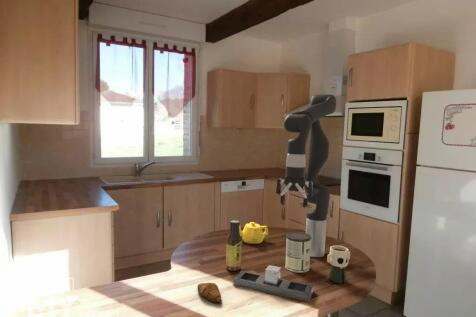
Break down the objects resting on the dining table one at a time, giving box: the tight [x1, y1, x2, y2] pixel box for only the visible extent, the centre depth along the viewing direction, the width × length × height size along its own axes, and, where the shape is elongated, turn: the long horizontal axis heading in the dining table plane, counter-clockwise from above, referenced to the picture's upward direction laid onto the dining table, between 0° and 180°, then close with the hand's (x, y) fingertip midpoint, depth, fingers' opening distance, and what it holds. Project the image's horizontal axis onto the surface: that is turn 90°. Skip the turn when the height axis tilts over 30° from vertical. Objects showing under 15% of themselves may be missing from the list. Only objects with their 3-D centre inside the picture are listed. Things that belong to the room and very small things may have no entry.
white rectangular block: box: [264, 264, 282, 287], centre depth 122 cm, size 4×4×7 cm
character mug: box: [326, 245, 351, 284], centre depth 130 cm, size 11×7×13 cm, turn 113°
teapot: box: [239, 221, 269, 245], centre depth 174 cm, size 14×13×10 cm
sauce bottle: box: [225, 219, 243, 272], centre depth 138 cm, size 7×6×20 cm
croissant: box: [197, 282, 223, 305], centre depth 115 cm, size 14×7×5 cm, turn 37°
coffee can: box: [284, 231, 311, 274], centre depth 142 cm, size 10×10×14 cm
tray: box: [232, 270, 314, 302], centre depth 122 cm, size 8×28×2 cm, turn 68°
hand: (293, 206), depth 133 cm, fingers open, 8 cm apart
